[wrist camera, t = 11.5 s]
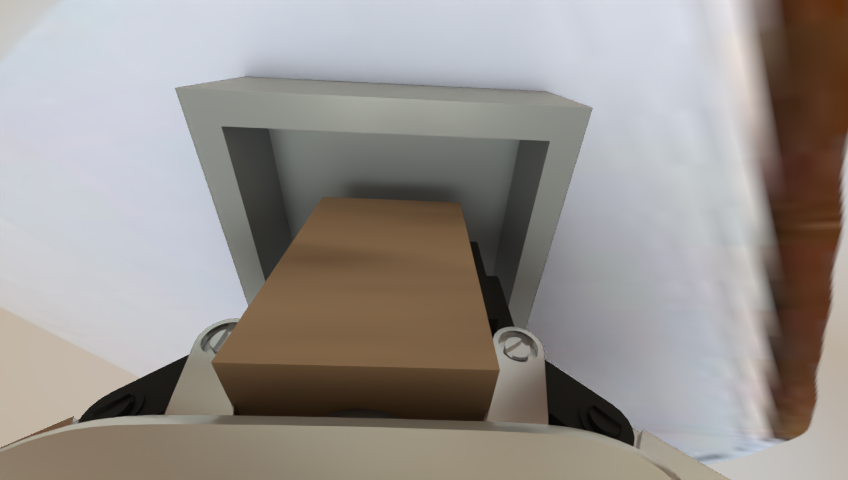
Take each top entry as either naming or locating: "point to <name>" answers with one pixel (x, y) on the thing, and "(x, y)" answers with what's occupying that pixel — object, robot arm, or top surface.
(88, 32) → the top surface
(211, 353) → the robot arm
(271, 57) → the top surface
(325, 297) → the walnut block
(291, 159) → the tray
